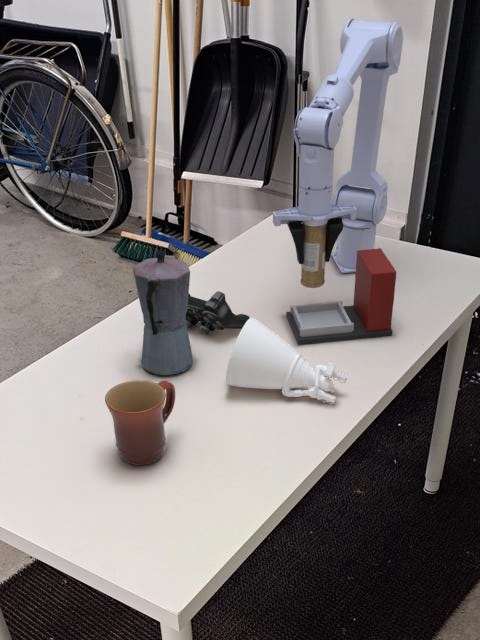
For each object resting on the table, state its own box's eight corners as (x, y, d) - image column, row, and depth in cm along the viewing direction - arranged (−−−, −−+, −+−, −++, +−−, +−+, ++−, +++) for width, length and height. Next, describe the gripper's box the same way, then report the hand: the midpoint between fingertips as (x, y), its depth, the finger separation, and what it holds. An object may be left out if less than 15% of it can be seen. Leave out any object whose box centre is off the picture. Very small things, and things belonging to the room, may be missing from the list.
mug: (142, 478, 125) (135, 420, 118) (101, 456, 129) (92, 399, 122) (197, 440, 132) (193, 383, 125) (156, 421, 136) (150, 364, 129)
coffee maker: (286, 316, 161) (286, 255, 153) (375, 307, 163) (381, 246, 155) (297, 345, 153) (299, 282, 145) (392, 335, 154) (398, 272, 146)
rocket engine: (356, 346, 133) (250, 306, 135) (328, 414, 132) (222, 373, 134) (354, 368, 144) (256, 331, 146) (328, 431, 143) (230, 392, 146)
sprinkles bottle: (329, 283, 157) (333, 210, 148) (312, 291, 155) (315, 217, 146) (311, 275, 160) (314, 203, 151) (294, 283, 158) (296, 210, 149)
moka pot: (201, 344, 154) (194, 235, 141) (189, 390, 142) (180, 277, 129) (149, 342, 155) (137, 234, 141) (133, 388, 143) (118, 275, 130)
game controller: (167, 329, 164) (147, 296, 155) (185, 302, 165) (166, 267, 156) (237, 352, 156) (220, 319, 148) (255, 323, 158) (239, 288, 149)
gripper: (278, 196, 142) (277, 273, 151) (363, 189, 143) (357, 266, 152) (270, 181, 147) (270, 257, 156) (352, 175, 148) (348, 250, 157)
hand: (313, 260), depth 155 cm, fingers closed on sprinkles bottle, 4 cm apart
